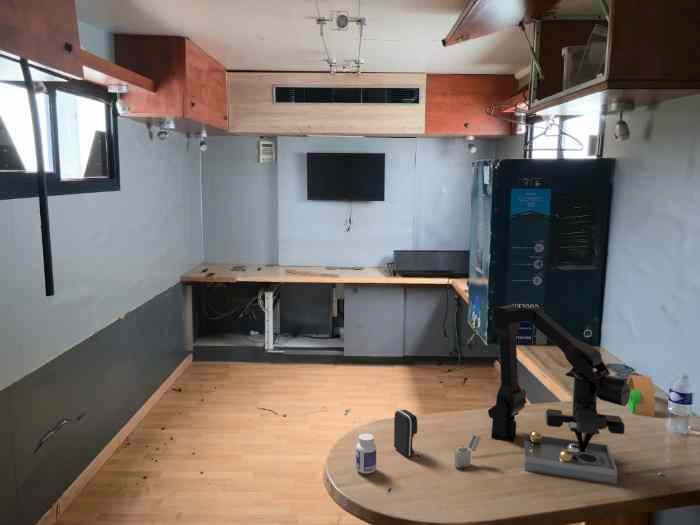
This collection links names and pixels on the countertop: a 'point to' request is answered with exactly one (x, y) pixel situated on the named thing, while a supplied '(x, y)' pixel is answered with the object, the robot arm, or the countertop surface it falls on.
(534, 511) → the countertop surface
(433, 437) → the countertop surface
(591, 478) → the tray
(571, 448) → the steel ball
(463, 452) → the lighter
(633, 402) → the mechanical part
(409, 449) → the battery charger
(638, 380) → the arch
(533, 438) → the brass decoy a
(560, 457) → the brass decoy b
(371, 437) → the pill bottle
